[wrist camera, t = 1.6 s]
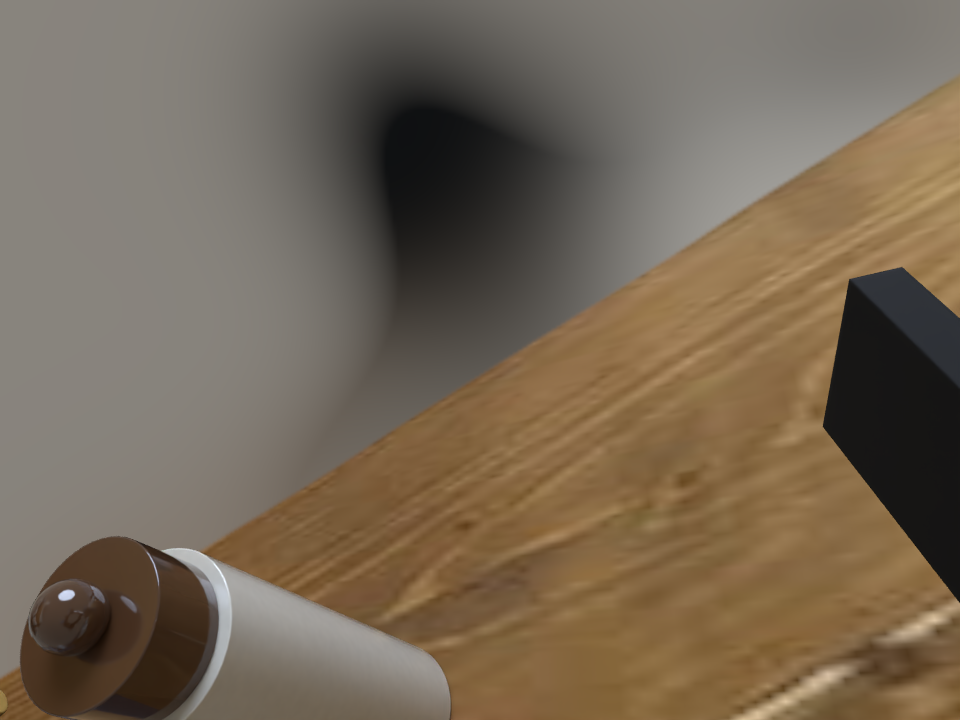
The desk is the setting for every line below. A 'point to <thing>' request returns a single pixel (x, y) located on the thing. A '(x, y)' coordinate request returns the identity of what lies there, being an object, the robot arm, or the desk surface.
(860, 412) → the robot arm
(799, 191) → the desk surface
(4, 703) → the drawer
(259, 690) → the salt mill
